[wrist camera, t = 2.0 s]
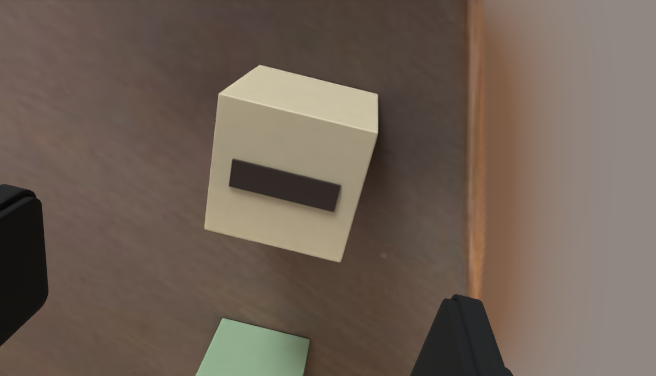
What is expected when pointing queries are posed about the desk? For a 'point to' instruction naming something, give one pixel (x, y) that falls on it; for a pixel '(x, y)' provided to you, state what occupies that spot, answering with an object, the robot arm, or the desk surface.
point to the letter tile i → (253, 352)
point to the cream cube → (290, 161)
